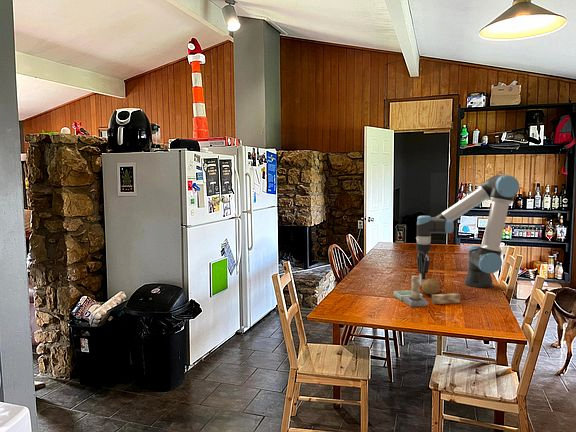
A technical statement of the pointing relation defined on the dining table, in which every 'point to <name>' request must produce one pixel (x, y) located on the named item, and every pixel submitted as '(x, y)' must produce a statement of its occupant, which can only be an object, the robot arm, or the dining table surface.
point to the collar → (415, 302)
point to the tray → (403, 294)
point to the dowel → (415, 288)
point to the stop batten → (445, 298)
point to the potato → (431, 286)
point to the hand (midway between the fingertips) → (422, 284)
